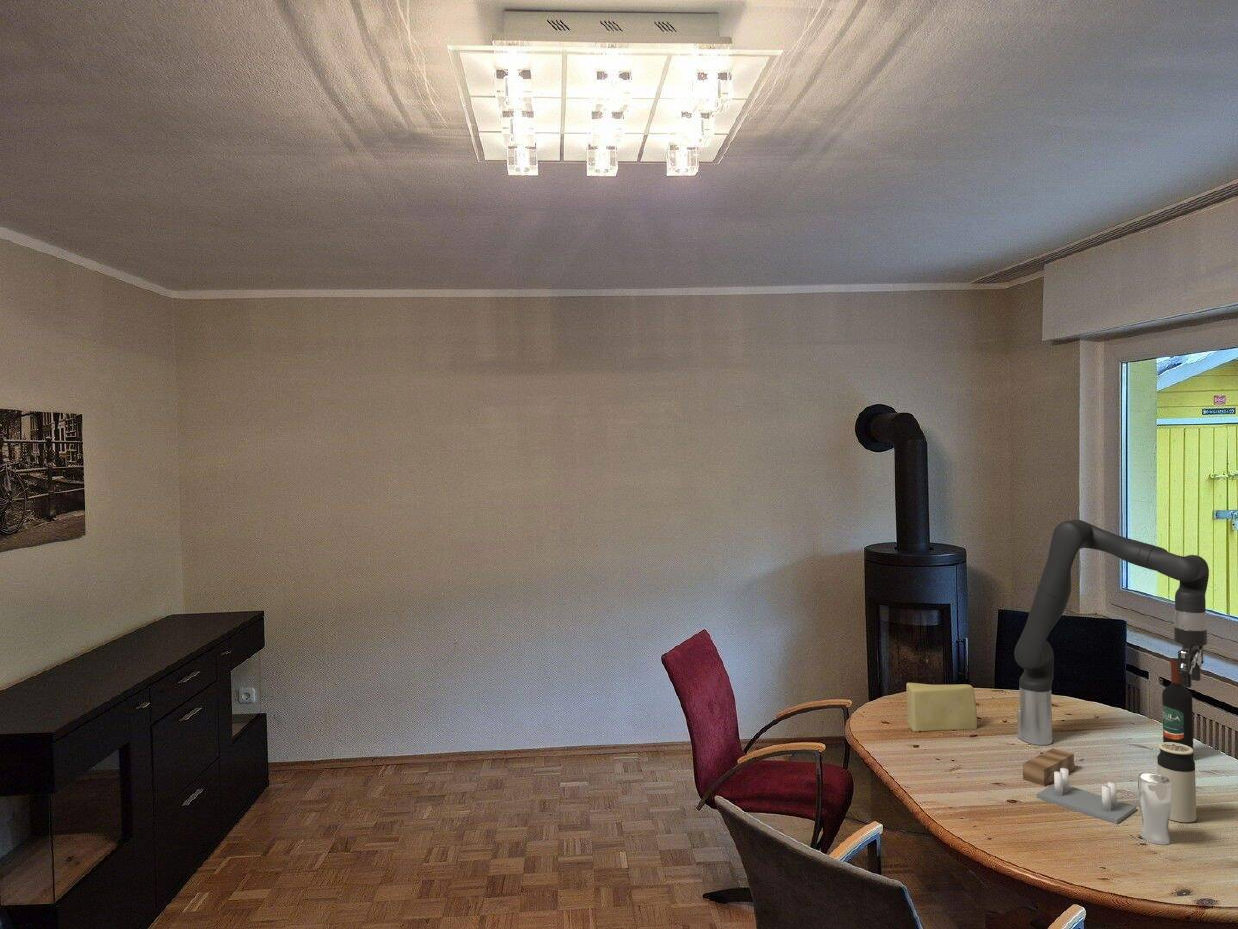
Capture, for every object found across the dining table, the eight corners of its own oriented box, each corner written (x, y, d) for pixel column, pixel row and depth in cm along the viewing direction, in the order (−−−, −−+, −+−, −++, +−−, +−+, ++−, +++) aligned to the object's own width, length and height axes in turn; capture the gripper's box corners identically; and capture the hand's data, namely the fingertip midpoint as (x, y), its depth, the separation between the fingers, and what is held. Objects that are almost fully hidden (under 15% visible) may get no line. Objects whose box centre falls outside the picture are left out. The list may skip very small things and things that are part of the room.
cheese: (972, 723, 273) (971, 681, 273) (981, 733, 264) (980, 689, 264) (906, 723, 276) (905, 680, 276) (913, 733, 267) (911, 689, 266)
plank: (1044, 787, 222) (1043, 770, 222) (1023, 780, 227) (1022, 763, 227) (1074, 770, 233) (1073, 754, 233) (1053, 764, 238) (1053, 748, 238)
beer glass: (1131, 833, 194) (1130, 773, 194) (1157, 831, 195) (1156, 771, 195) (1153, 847, 188) (1151, 785, 187) (1180, 844, 188) (1178, 783, 188)
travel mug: (1197, 826, 197) (1196, 755, 196) (1159, 819, 201) (1157, 750, 201) (1194, 813, 203) (1193, 744, 203) (1157, 807, 208) (1156, 739, 207)
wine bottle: (1198, 762, 235) (1196, 663, 235) (1170, 761, 237) (1168, 662, 236) (1186, 752, 242) (1183, 656, 242) (1158, 751, 244) (1156, 655, 244)
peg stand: (1036, 797, 215) (1035, 772, 215) (1057, 785, 222) (1056, 761, 222) (1116, 824, 199) (1116, 797, 199) (1136, 810, 206) (1135, 783, 206)
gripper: (1182, 620, 227) (1183, 675, 228) (1166, 628, 218) (1167, 686, 219) (1213, 624, 222) (1214, 681, 222) (1198, 633, 213) (1199, 692, 213)
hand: (1191, 683), depth 220 cm, fingers open, 8 cm apart
